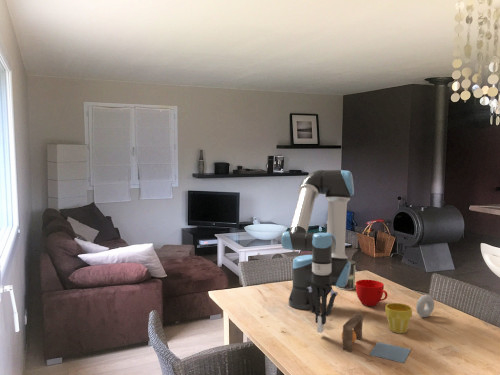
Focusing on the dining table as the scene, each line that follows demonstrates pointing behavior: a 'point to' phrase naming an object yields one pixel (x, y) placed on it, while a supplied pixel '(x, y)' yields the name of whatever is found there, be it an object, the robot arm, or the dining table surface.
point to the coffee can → (350, 278)
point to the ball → (352, 337)
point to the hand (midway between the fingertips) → (320, 331)
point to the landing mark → (390, 352)
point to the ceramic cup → (370, 292)
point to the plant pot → (398, 316)
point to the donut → (421, 304)
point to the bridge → (348, 329)
